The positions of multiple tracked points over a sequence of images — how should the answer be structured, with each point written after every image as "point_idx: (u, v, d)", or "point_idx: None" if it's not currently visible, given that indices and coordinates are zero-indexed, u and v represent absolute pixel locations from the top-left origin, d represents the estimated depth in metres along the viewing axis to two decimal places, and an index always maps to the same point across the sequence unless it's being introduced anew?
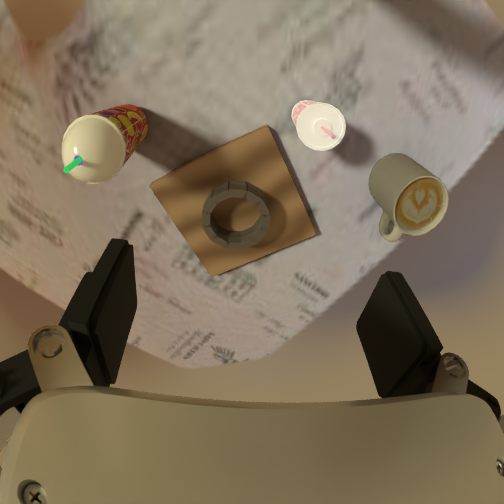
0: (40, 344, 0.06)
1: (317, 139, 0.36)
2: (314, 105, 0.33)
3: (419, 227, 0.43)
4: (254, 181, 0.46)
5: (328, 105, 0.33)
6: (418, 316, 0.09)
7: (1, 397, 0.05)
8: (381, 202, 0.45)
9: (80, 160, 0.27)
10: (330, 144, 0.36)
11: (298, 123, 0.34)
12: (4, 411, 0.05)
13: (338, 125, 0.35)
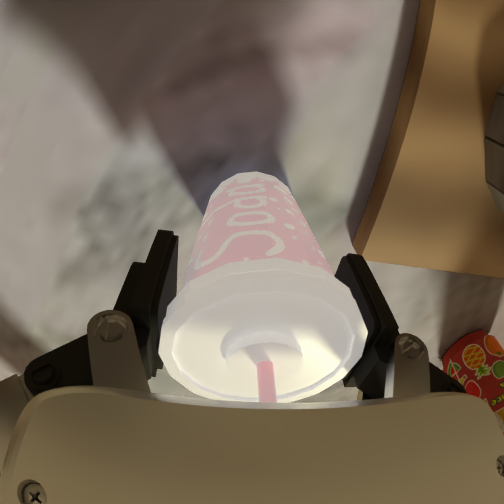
0: (100, 329, 0.07)
1: (312, 329, 0.08)
2: None
3: None
4: (478, 167, 0.13)
5: (199, 392, 0.10)
6: (374, 296, 0.09)
7: (58, 384, 0.06)
8: None
9: None
10: (276, 293, 0.07)
11: (325, 385, 0.10)
12: None
13: (195, 337, 0.08)
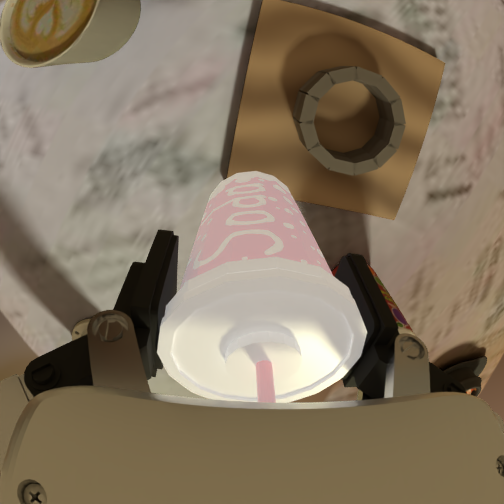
0: (100, 329, 0.07)
1: (311, 329, 0.08)
2: None
3: None
4: (291, 134, 0.28)
5: (197, 391, 0.10)
6: (374, 296, 0.09)
7: (58, 384, 0.06)
8: (120, 12, 0.18)
9: None
10: (275, 292, 0.07)
11: (324, 385, 0.10)
12: None
13: (193, 336, 0.08)
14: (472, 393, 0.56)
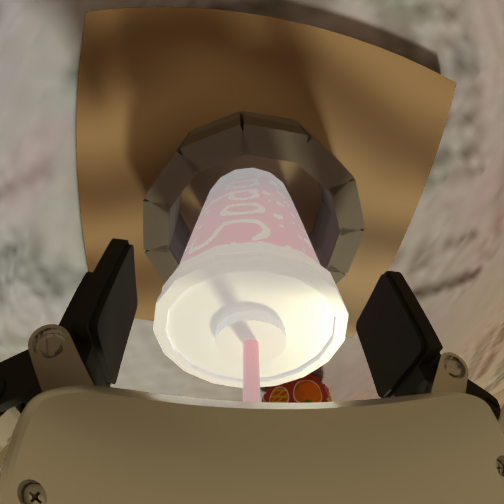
0: (41, 344, 0.06)
1: (294, 310, 0.09)
2: (233, 384, 0.11)
3: None
4: None
5: (191, 371, 0.10)
6: (418, 316, 0.09)
7: (1, 397, 0.05)
8: None
9: None
10: (258, 273, 0.08)
11: (311, 368, 0.11)
12: (4, 411, 0.05)
13: (186, 315, 0.09)
14: None
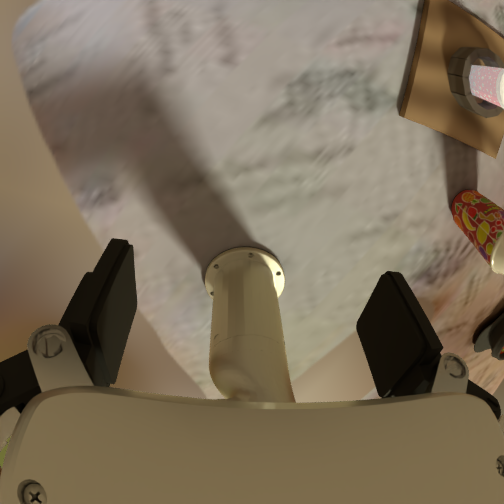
0: (40, 344, 0.06)
1: None
2: None
3: None
4: (446, 85, 0.31)
5: (502, 101, 0.24)
6: (418, 316, 0.09)
7: (1, 397, 0.05)
8: None
9: None
10: None
11: None
12: (4, 411, 0.05)
13: None
14: None
